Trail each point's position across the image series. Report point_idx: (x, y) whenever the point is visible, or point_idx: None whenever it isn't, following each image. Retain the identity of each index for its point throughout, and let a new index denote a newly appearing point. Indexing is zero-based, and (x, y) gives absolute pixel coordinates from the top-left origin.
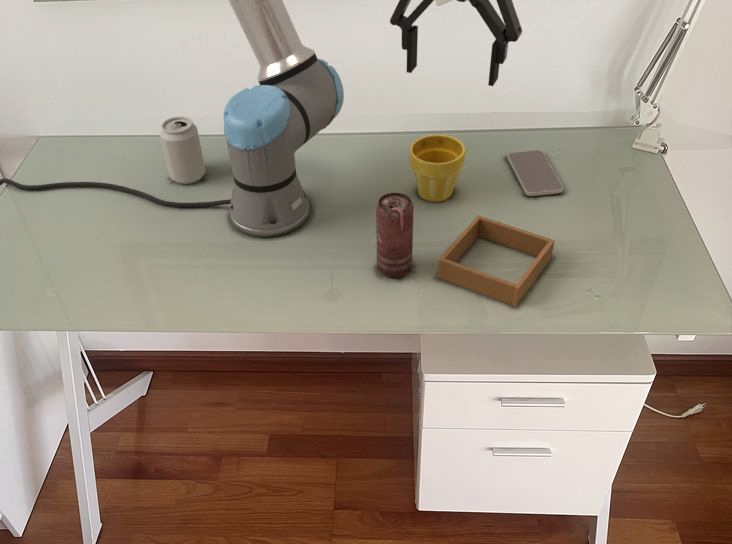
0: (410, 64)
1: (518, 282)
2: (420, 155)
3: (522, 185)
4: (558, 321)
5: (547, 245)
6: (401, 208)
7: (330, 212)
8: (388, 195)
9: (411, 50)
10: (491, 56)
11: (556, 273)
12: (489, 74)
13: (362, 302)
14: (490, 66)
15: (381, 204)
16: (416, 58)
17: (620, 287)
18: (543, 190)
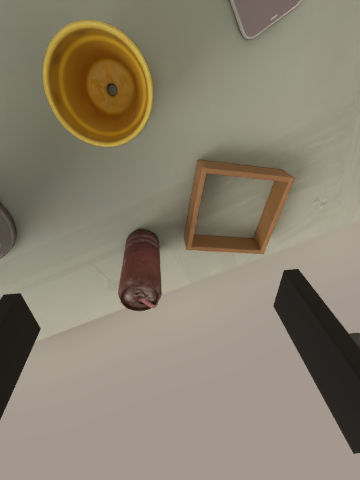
0: (27, 355)
1: (262, 248)
2: (64, 74)
3: (236, 13)
4: (289, 242)
5: (287, 190)
6: (151, 299)
7: (21, 192)
8: (124, 287)
9: (5, 407)
10: (323, 394)
11: None
12: (288, 332)
13: None
14: (302, 358)
15: (127, 302)
16: (8, 320)
17: (345, 184)
18: (271, 20)
